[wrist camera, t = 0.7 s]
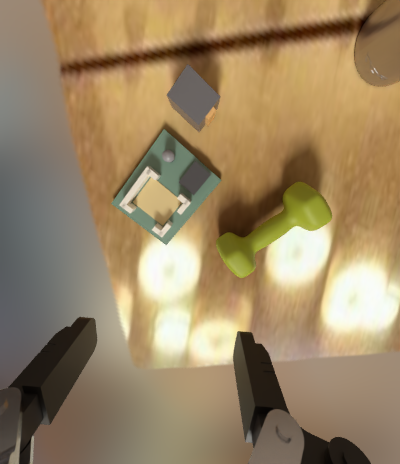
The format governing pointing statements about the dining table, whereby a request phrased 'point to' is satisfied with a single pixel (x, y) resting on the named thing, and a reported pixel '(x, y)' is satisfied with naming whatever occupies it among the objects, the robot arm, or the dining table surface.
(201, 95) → the plug
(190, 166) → the board
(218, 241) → the dumbbell
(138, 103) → the dining table surface
